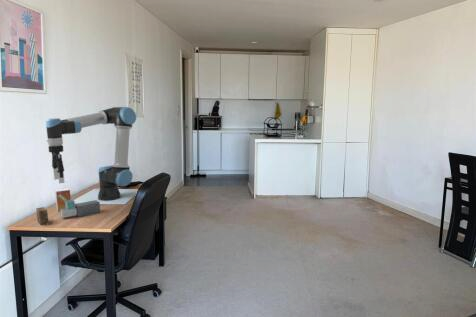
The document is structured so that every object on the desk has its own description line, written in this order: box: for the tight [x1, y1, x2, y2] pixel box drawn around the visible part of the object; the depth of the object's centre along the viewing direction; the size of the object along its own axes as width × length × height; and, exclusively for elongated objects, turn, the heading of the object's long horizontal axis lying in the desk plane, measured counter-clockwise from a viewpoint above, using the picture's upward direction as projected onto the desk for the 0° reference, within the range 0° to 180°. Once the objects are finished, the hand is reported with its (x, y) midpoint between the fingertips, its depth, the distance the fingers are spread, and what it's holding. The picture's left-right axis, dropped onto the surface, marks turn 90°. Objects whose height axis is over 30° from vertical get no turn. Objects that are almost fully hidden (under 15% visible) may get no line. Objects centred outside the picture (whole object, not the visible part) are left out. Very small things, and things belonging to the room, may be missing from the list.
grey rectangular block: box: [75, 199, 101, 218], centre depth 213 cm, size 13×7×7 cm, turn 130°
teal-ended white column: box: [60, 199, 78, 218], centre depth 210 cm, size 19×5×9 cm, turn 130°
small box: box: [54, 187, 72, 212], centre depth 223 cm, size 8×6×13 cm
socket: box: [35, 206, 49, 226], centre depth 198 cm, size 4×8×8 cm, turn 40°
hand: (59, 181), depth 205 cm, fingers open, 13 cm apart
